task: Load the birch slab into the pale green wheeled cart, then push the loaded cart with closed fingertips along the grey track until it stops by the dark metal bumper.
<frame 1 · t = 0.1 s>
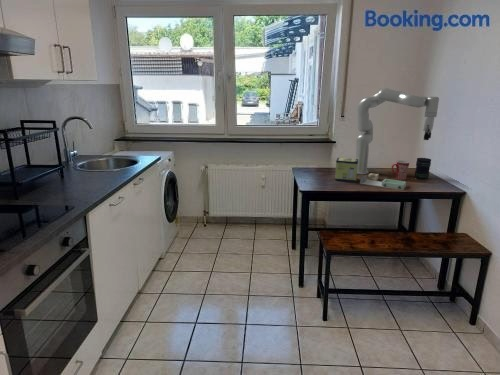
hand: (427, 139, 243), 31 cm above the table, fingers open, 9 cm apart
cart: (393, 183, 238), point 2 cm above the table, slide at 0.0 cm
mug: (398, 179, 257), on the table
slab: (373, 179, 257), on the table
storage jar: (421, 178, 259), on the table
track: (382, 184, 243), on the table
protein box: (345, 179, 256), on the table
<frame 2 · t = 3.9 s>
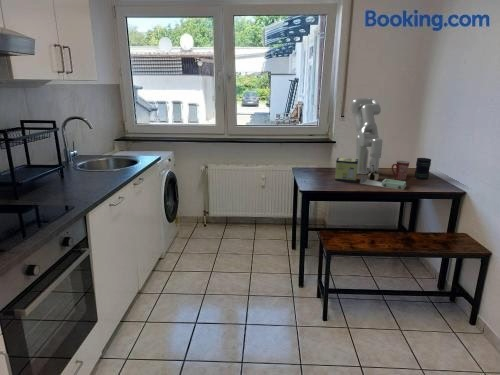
hand: (373, 178, 256), 1 cm above the table, fingers closed on slab, 6 cm apart
slab: (373, 179, 257), on the table, touching gripper
everything else where it was.
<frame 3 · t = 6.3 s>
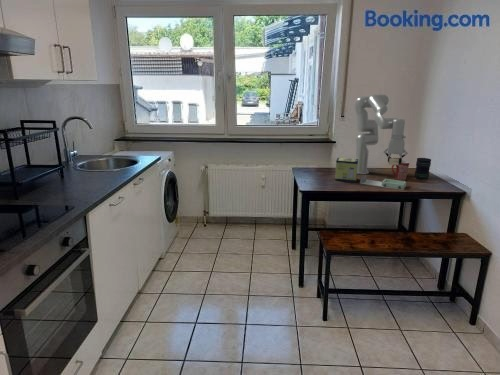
hand: (394, 163, 235), 16 cm above the table, fingers closed on slab, 6 cm apart
slab: (394, 164, 236), point 16 cm above the table, touching gripper
everything else where it was.
when the fingers open (4 cm above the table, at t = 8.8 s): slab drops 2 cm, resting on cart.
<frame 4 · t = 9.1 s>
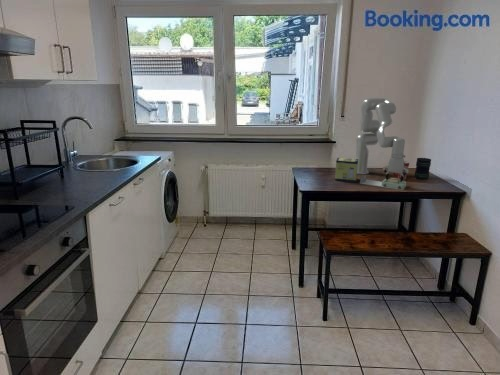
hand: (394, 180, 238), 4 cm above the table, fingers open, 9 cm apart
cart: (393, 183, 238), point 2 cm above the table, slide at 0.0 cm, touching slab
slab: (393, 184, 239), point 1 cm above the table, touching cart
everything else where it was.
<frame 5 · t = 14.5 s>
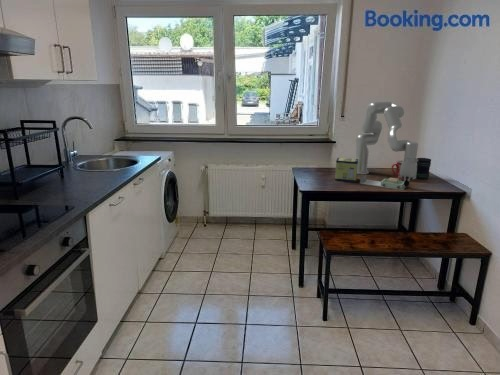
hand: (406, 186, 234), 1 cm above the table, fingers closed
cart: (392, 183, 239), point 2 cm above the table, slide at 0.6 cm, touching gripper, slab
everything else where it was.
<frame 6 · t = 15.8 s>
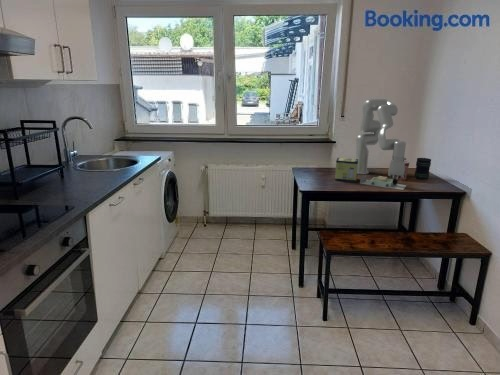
hand: (394, 184, 238), 1 cm above the table, fingers closed
cart: (381, 181, 243), point 2 cm above the table, slide at 8.1 cm, touching gripper, slab
slab: (381, 182, 243), point 1 cm above the table, touching cart
everything else where it was.
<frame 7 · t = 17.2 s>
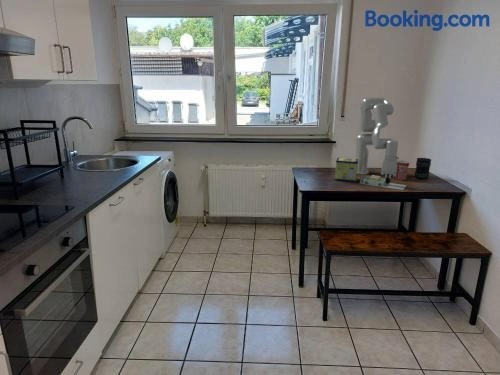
hand: (387, 183, 241), 1 cm above the table, fingers closed
cart: (374, 180, 245), point 2 cm above the table, slide at 13.0 cm, touching gripper, slab
slab: (374, 181, 246), point 1 cm above the table, touching cart
everything else where it was.
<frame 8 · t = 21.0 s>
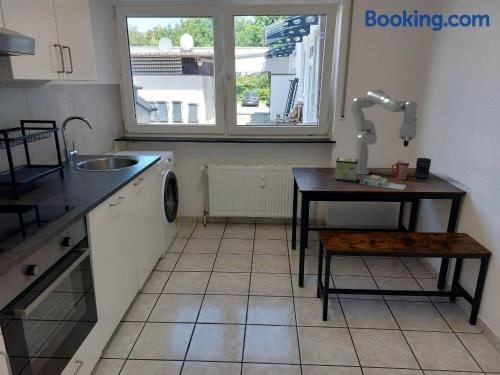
hand: (405, 146, 237), 27 cm above the table, fingers closed
cart: (374, 180, 245), point 2 cm above the table, slide at 13.0 cm, touching slab
everything else where it was.
at the end: cart slide at 13.0 cm; slab inside the target area on the cart (0.1 cm from its centre), point 1.1 cm above the cart's base; slab tilted 0° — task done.
